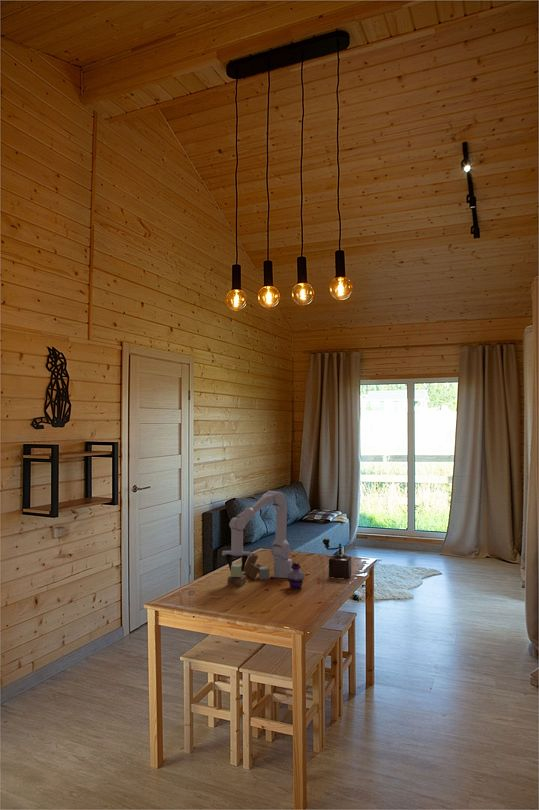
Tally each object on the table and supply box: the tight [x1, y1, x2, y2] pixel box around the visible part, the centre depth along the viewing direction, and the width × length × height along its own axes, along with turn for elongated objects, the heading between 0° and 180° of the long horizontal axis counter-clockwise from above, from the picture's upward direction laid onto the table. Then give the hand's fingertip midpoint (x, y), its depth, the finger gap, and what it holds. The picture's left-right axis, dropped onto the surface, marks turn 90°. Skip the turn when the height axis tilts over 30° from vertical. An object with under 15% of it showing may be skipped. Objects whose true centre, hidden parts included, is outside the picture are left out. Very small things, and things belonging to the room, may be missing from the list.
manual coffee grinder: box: [322, 538, 352, 580], centre depth 280 cm, size 16×11×18 cm
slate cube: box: [258, 566, 271, 580], centre depth 274 cm, size 5×5×5 cm
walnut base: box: [227, 574, 247, 588], centre depth 262 cm, size 7×7×4 cm
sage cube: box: [230, 563, 244, 577], centre depth 262 cm, size 5×5×5 cm
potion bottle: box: [286, 561, 306, 590], centre depth 257 cm, size 9×9×12 cm
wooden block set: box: [243, 552, 263, 580], centre depth 281 cm, size 18×9×10 cm, turn 177°
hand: (236, 570), depth 263 cm, fingers open, 5 cm apart
